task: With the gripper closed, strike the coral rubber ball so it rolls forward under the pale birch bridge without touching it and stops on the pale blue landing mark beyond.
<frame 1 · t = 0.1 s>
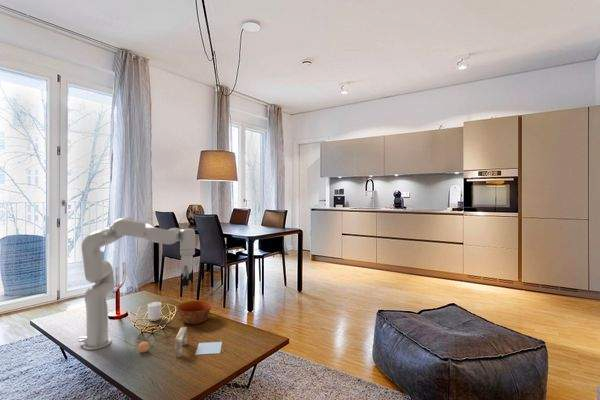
hand: (187, 283, 176), 31 cm above the table, tool pointing down, fingers open, 9 cm apart
bowl: (194, 321, 202), on the table
white cup: (154, 320, 203), on the table
bridge: (181, 349, 166), on the table
landing mark: (209, 348, 169), on the table
ball: (143, 347, 164), on the table
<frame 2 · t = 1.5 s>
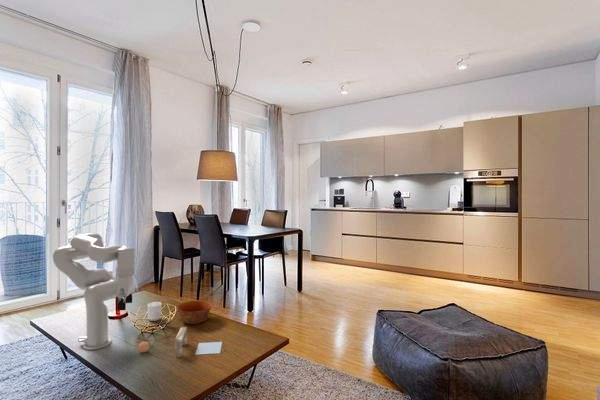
hand: (125, 306, 162), 23 cm above the table, tool pointing down, fingers open, 9 cm apart
nothing on the table moved.
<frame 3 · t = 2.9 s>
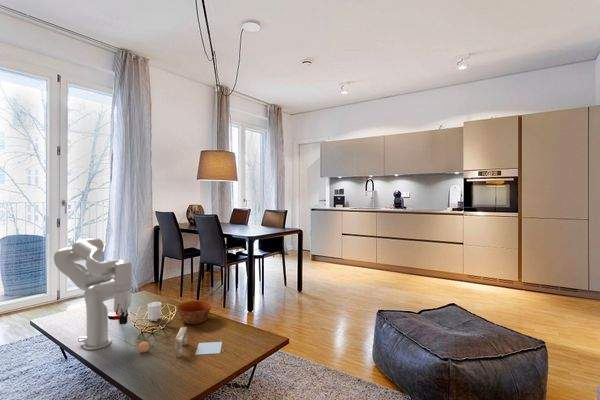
hand: (123, 323, 162), 15 cm above the table, tool pointing down, fingers closed
nothing on the table moved.
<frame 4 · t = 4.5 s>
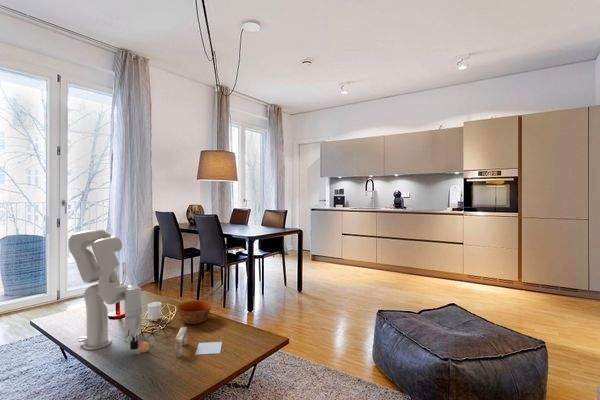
hand: (134, 348, 162), 2 cm above the table, tool pointing down, fingers closed
nothing on the table moved.
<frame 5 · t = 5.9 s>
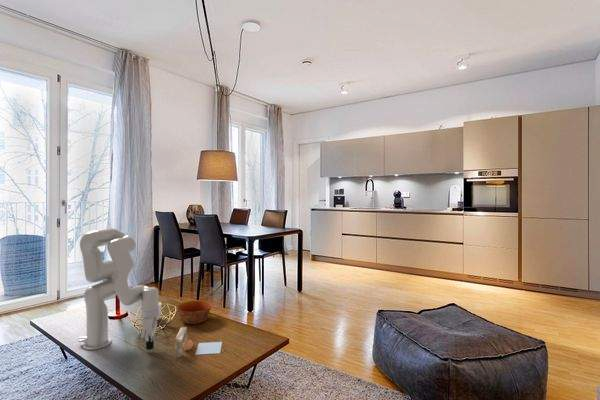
hand: (149, 348, 164), 2 cm above the table, tool pointing down, fingers closed
ball: (187, 344, 167), on the table
everything else where it was.
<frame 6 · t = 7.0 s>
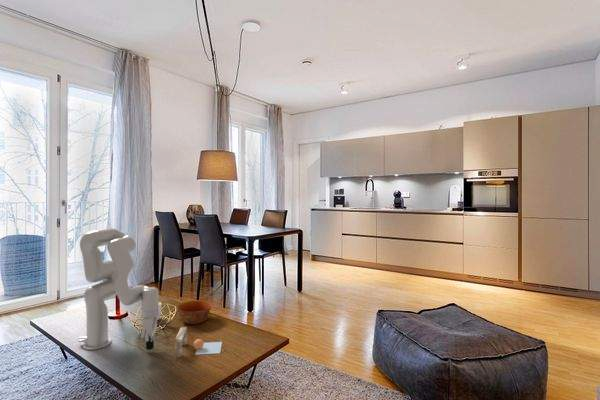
hand: (149, 348, 164), 2 cm above the table, tool pointing down, fingers closed
ball: (198, 344, 167), on the table
everything else where it was.
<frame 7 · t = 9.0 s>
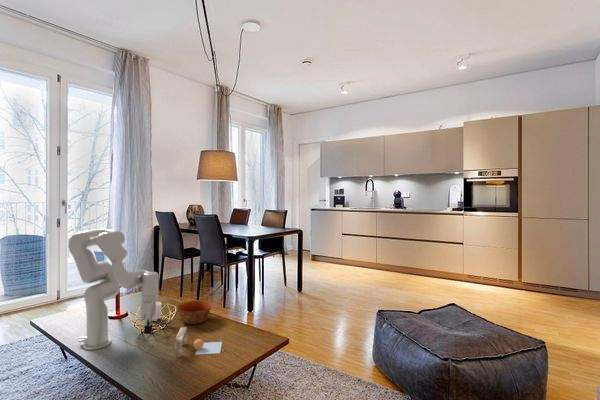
hand: (148, 332, 164), 9 cm above the table, tool pointing down, fingers closed
nothing on the table moved.
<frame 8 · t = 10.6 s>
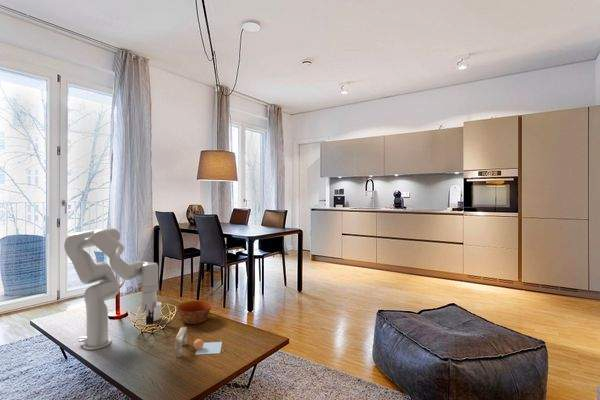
hand: (149, 323, 164), 14 cm above the table, tool pointing down, fingers closed
nothing on the table moved.
at the end: ball 5.4 cm from the landing mark (horizontally); ball never touched bridge; ball at rest at the end (0.0 cm/s) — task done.
